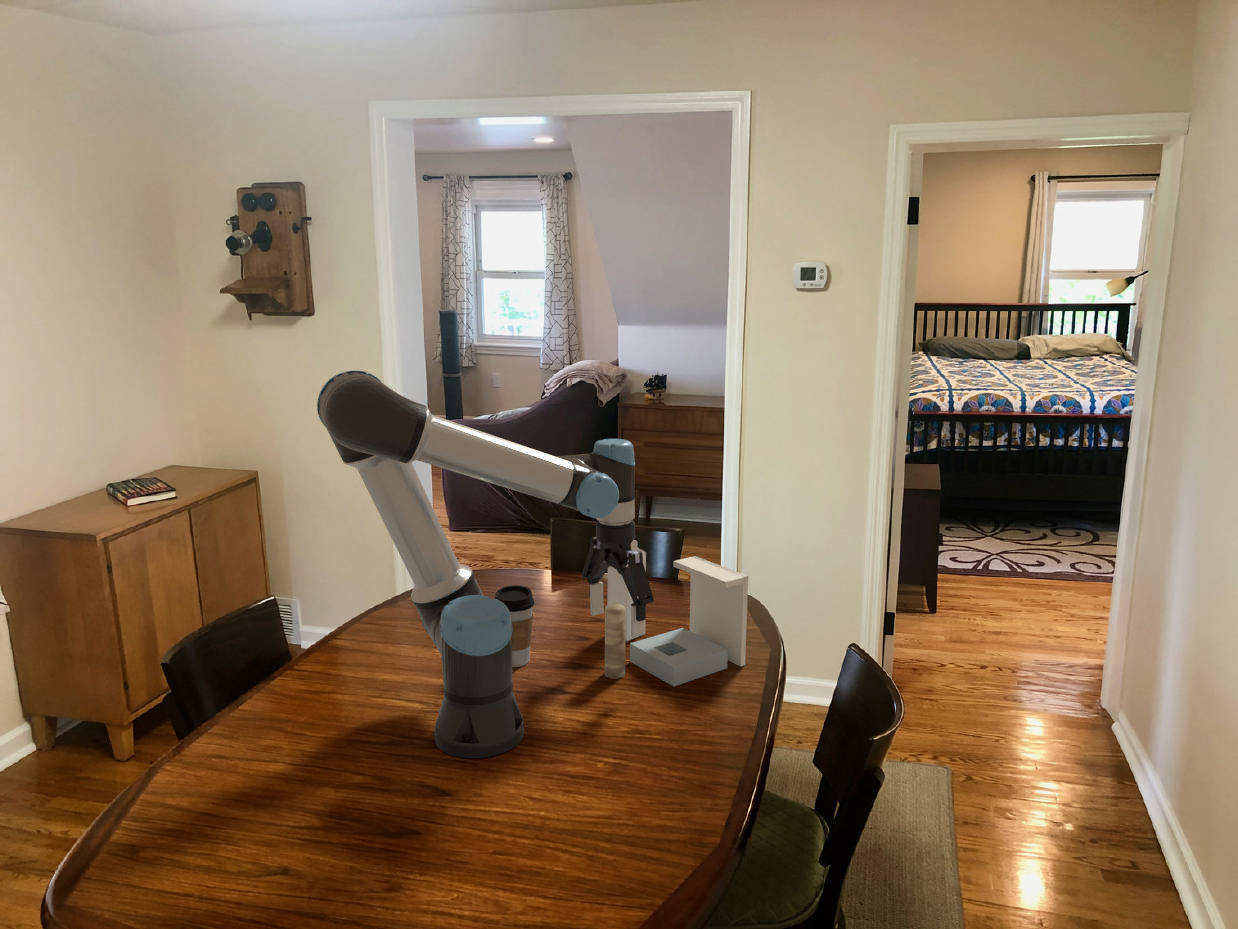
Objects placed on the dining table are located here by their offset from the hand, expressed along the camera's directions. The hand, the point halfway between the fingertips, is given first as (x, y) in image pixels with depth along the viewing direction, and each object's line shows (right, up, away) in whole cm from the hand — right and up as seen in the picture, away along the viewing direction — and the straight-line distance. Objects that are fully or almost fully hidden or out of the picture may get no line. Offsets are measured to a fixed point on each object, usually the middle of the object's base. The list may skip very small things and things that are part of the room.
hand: (616, 624), depth 175 cm
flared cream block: (+19, -8, +11) cm, 23 cm away
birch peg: (0, -10, +2) cm, 10 cm away
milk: (+2, -6, +22) cm, 23 cm away
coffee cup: (-21, -9, +8) cm, 24 cm away
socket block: (+12, -9, +6) cm, 17 cm away
